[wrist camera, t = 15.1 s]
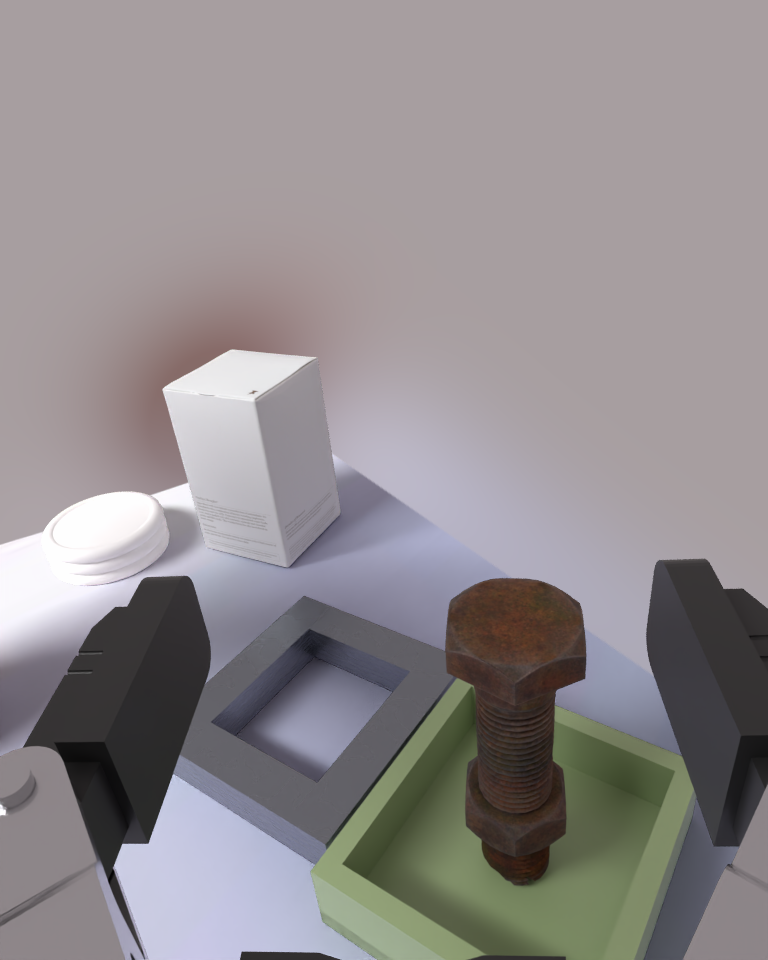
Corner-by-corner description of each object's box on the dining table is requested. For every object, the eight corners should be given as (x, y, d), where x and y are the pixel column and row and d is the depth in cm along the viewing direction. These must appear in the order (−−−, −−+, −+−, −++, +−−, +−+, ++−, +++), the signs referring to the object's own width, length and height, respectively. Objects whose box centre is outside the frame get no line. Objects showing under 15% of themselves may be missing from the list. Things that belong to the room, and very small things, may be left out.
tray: (322, 921, 34) (310, 871, 32) (466, 717, 43) (464, 668, 41) (592, 1108, 27) (598, 1060, 25) (692, 816, 37) (702, 764, 35)
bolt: (539, 792, 37) (544, 560, 30) (598, 879, 33) (621, 634, 26) (438, 836, 36) (416, 603, 28) (486, 933, 32) (477, 689, 24)
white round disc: (169, 511, 68) (160, 479, 66) (173, 571, 60) (163, 536, 58) (58, 536, 66) (46, 503, 64) (46, 601, 58) (32, 566, 56)
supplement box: (345, 513, 65) (322, 355, 57) (289, 571, 58) (255, 400, 50) (263, 496, 69) (232, 345, 61) (202, 548, 62) (158, 386, 54)
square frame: (159, 764, 43) (148, 735, 41) (309, 622, 52) (304, 595, 51) (332, 875, 36) (325, 844, 34) (467, 689, 45) (466, 659, 44)
